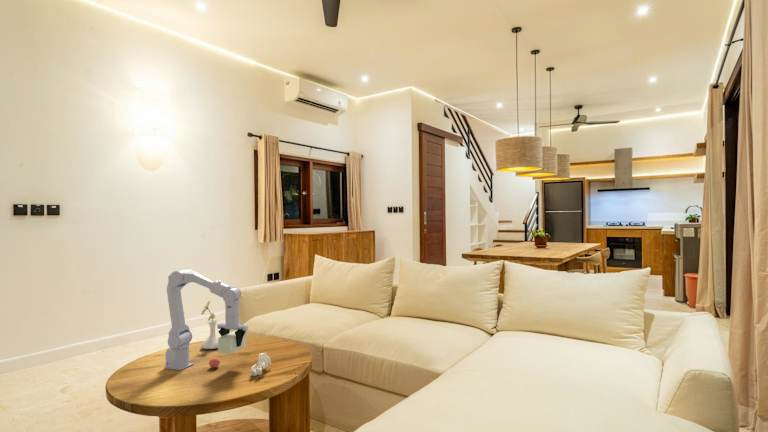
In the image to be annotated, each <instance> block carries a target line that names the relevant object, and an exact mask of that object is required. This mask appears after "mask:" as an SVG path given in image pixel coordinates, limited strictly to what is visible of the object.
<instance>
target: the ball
mask: <svg viewBox="0 0 768 432" xmlns="http://www.w3.org/2000/svg"><path fill="white" fill-rule="evenodd" d="M220 362H221V361H220V358H219V357H212V358H211V359H210V360H209V363H208V364H209V367H210V368H213V369H216V368H217V367H219V365H220Z"/></svg>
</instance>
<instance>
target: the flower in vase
mask: <svg viewBox="0 0 768 432" xmlns="http://www.w3.org/2000/svg"><path fill="white" fill-rule="evenodd" d="M210 304H211V300H208V301H207V302H206V305H205V306H204V309H202V311H201V313H200V315H201V316H202V315H204V314H205V312H206V311H207V310H208V312H209V314H210V315H209V317H208V320H207V324H208V325H209V328H210V334H209V336H208V337H206V339H205V340H204V341H202V343H201V345H200V347H201V348H202V349H204V350H213V349H218V338H219V337H220V336H217V334H216V327H217V326H216V325H217V323H218V321H219V320H218V319H215V318H216V315H215V313H214V312H213V313H212V312H211V311H210V309H209V305H210Z"/></svg>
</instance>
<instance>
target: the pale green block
mask: <svg viewBox="0 0 768 432" xmlns="http://www.w3.org/2000/svg"><path fill="white" fill-rule="evenodd" d="M235 331H236V330H233V331H230V332H229V333H228V334H226V335H224V336H221V335H220V336H218V337H219V338H218V348H217V352H218V354H223V355H224V354H226V355H231V354H233V353H235V352H237V351H239V350H241V349H243V348H245V347H247V331H246V332H245V334H244V336H243V339H242V343H241V346H239V347H237V344H236V335H235Z"/></svg>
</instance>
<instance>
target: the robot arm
mask: <svg viewBox="0 0 768 432" xmlns="http://www.w3.org/2000/svg"><path fill="white" fill-rule="evenodd" d="M167 278H168V282H167V286H166V295H167V301H168V309H169V315H170V322H171V328H170V329H169V331H168V339H167V345H168V347H167V349H166V351H165V366H164V369H166V370H167V369H169V370H177V371H182V370H185V369H186V368H188V367H190V366H192V365H194V362H190V345H191V344H190V342H191V341H192V339H193V333H192V332H191V330H190V327H189V325H187V324H186V318H185V312H184V307H183V306H184V305H183V299H182V292H181V290H182V289H183V288H184V287H185V286H186V285H188V284H189V283H195V284H197V285H200V286H202V287H205V288H207V289H208V290H209V291H210V293H211V294H213V295H216V296H217V297H220V298H221V299H222V300H223V301H224V305H225V306H224V308H225V309H224V310H225V320H224V321H225V323H223V322H222V323H218V324H217V323H216V325H217V326H216V329H217V330H218V329H219V330H218V334H219V335H220V337H221V336H224V335H226V334H228V333H231V330H233V331H235V335H236V344H237V347H239V346H241V343H242V339H243V336H244V334H245V332H246V333H247V331H248V327H249V326H248V325H246V324H241V323H240V298H241V296H242V291H241V289H240V288H239V287H237V286H233V287H232V285H230V284H229V285H228V284H226V283H224V282H223V281H222V280H215V281H213V280H211V279H209V278H208V277H205V276H203V275H202V274H200V273H198V272H197V271H196V270H193V269H191V268H184V269H181V270H180V269H179V270H175V271H172V272H171V273H170V275H168V277H167Z"/></svg>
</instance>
